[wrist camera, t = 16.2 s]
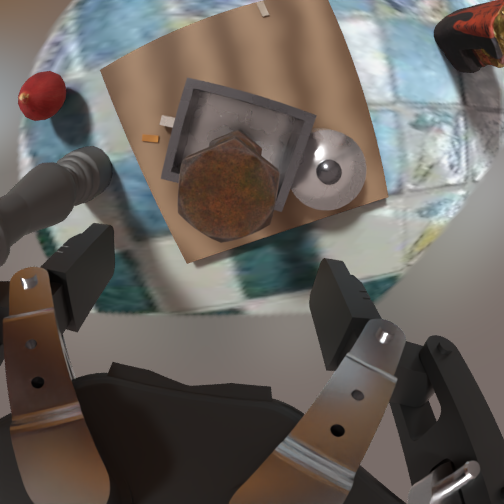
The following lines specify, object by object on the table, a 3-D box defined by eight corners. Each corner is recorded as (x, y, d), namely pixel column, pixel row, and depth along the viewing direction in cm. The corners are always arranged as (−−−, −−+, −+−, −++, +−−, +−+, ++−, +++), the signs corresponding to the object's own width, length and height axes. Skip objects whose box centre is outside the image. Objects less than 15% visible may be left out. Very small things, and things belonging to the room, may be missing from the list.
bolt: (253, 117, 27) (262, 128, 14) (272, 163, 29) (296, 218, 16) (198, 139, 28) (155, 173, 14) (218, 184, 30) (196, 255, 17)
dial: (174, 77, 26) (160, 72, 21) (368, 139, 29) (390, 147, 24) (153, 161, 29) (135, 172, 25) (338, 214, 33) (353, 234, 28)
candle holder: (86, 204, 33) (-50, 333, 11) (62, 164, 31) (-95, 261, 9) (121, 177, 32) (-31, 305, 10) (95, 135, 30) (-84, 213, 7)
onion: (40, 118, 28) (0, 127, 21) (44, 75, 25) (4, 75, 18) (76, 116, 28) (37, 123, 21) (80, 70, 26) (42, 66, 19)
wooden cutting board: (318, -6, 23) (323, -12, 21) (382, 192, 34) (389, 197, 32) (106, 71, 26) (99, 69, 24) (189, 256, 37) (186, 264, 35)
